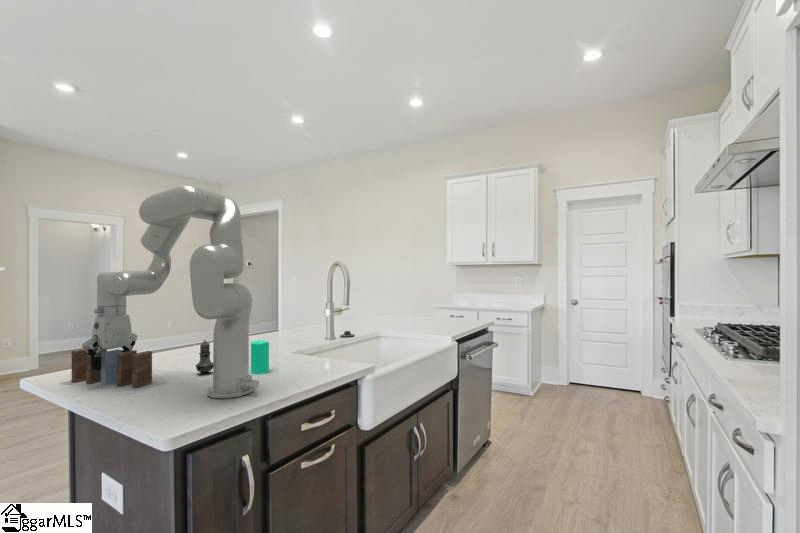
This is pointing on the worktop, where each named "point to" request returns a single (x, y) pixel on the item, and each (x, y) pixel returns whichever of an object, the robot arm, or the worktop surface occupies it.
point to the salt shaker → (204, 360)
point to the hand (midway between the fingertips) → (111, 366)
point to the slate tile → (109, 367)
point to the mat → (112, 385)
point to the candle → (259, 357)
